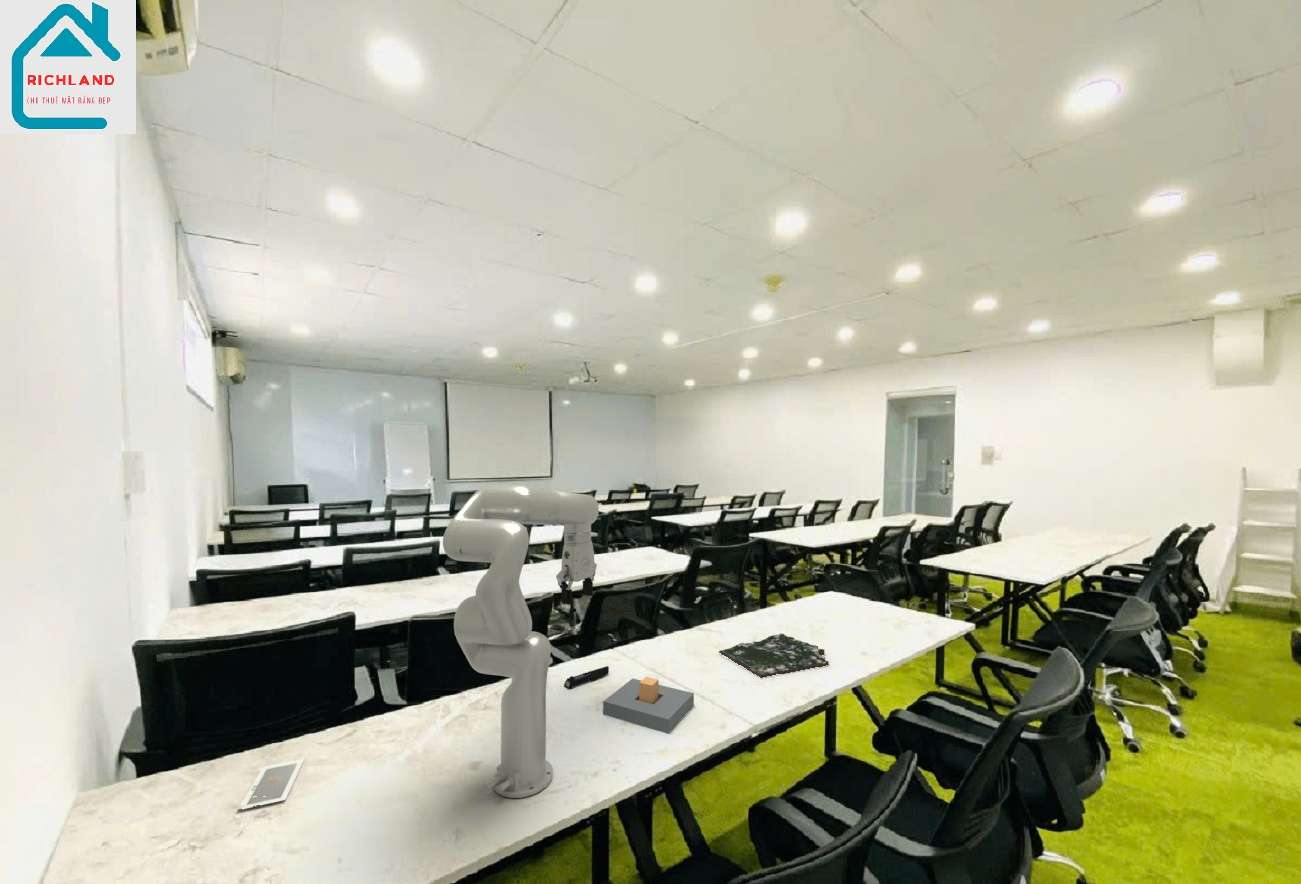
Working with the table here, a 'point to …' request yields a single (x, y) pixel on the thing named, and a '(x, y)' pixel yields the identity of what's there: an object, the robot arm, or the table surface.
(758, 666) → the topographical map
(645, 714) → the socket board
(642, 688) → the peg
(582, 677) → the electric trimmer
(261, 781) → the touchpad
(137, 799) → the table surface
